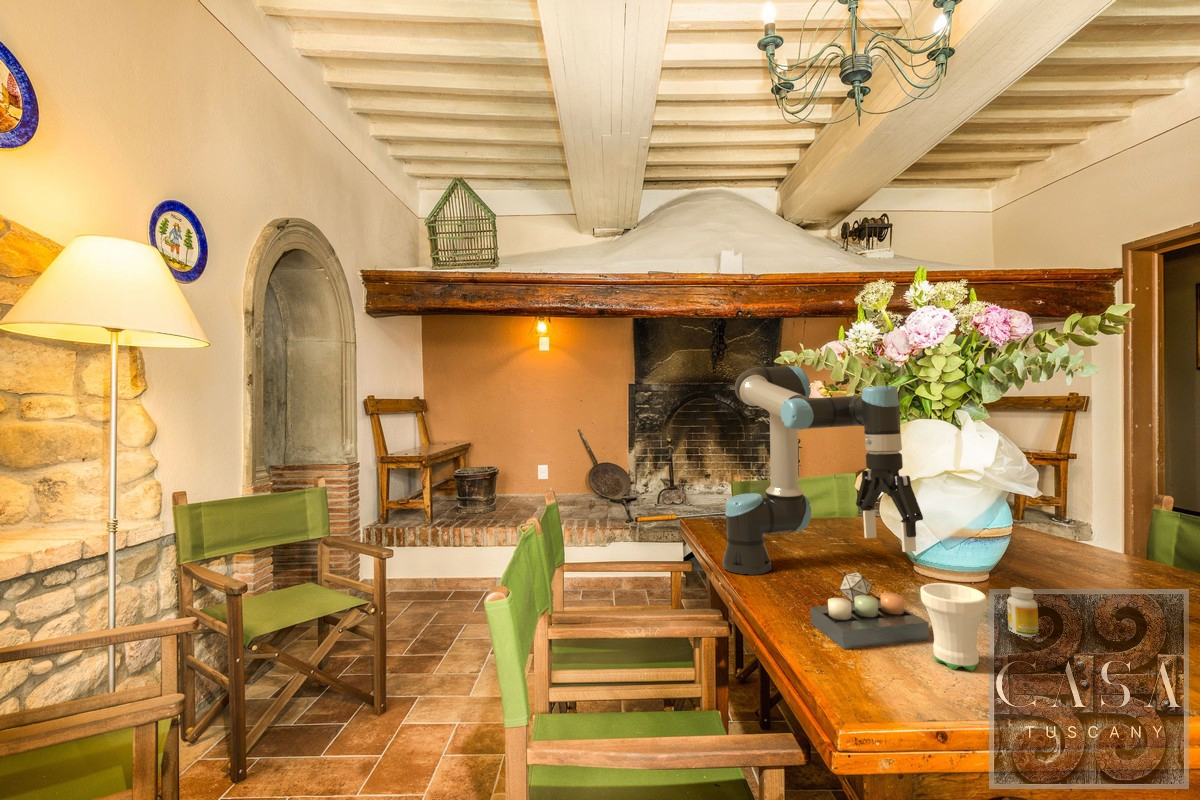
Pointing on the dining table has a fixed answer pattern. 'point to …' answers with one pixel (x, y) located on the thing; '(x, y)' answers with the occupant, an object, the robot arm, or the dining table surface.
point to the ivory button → (839, 608)
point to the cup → (954, 622)
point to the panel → (870, 628)
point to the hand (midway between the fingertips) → (888, 544)
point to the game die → (855, 585)
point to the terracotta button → (892, 603)
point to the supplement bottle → (1022, 612)
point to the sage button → (866, 606)
